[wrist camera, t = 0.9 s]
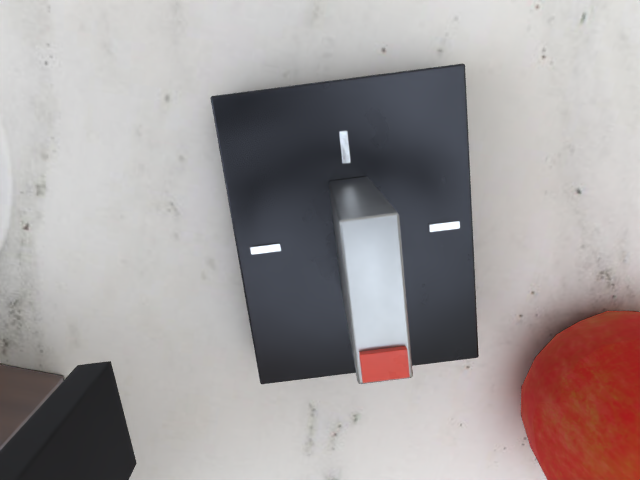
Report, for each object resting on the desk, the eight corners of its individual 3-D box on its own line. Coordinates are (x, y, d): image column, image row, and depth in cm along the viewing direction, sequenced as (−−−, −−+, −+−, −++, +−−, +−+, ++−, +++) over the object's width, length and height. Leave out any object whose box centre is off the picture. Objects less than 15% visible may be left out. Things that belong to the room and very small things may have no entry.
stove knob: (328, 181, 22) (338, 222, 15) (368, 176, 22) (400, 214, 15) (342, 295, 24) (358, 389, 16) (379, 290, 24) (415, 382, 16)
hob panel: (221, 97, 24) (208, 96, 21) (447, 68, 24) (466, 62, 21) (265, 356, 28) (260, 386, 25) (461, 331, 28) (480, 359, 25)
